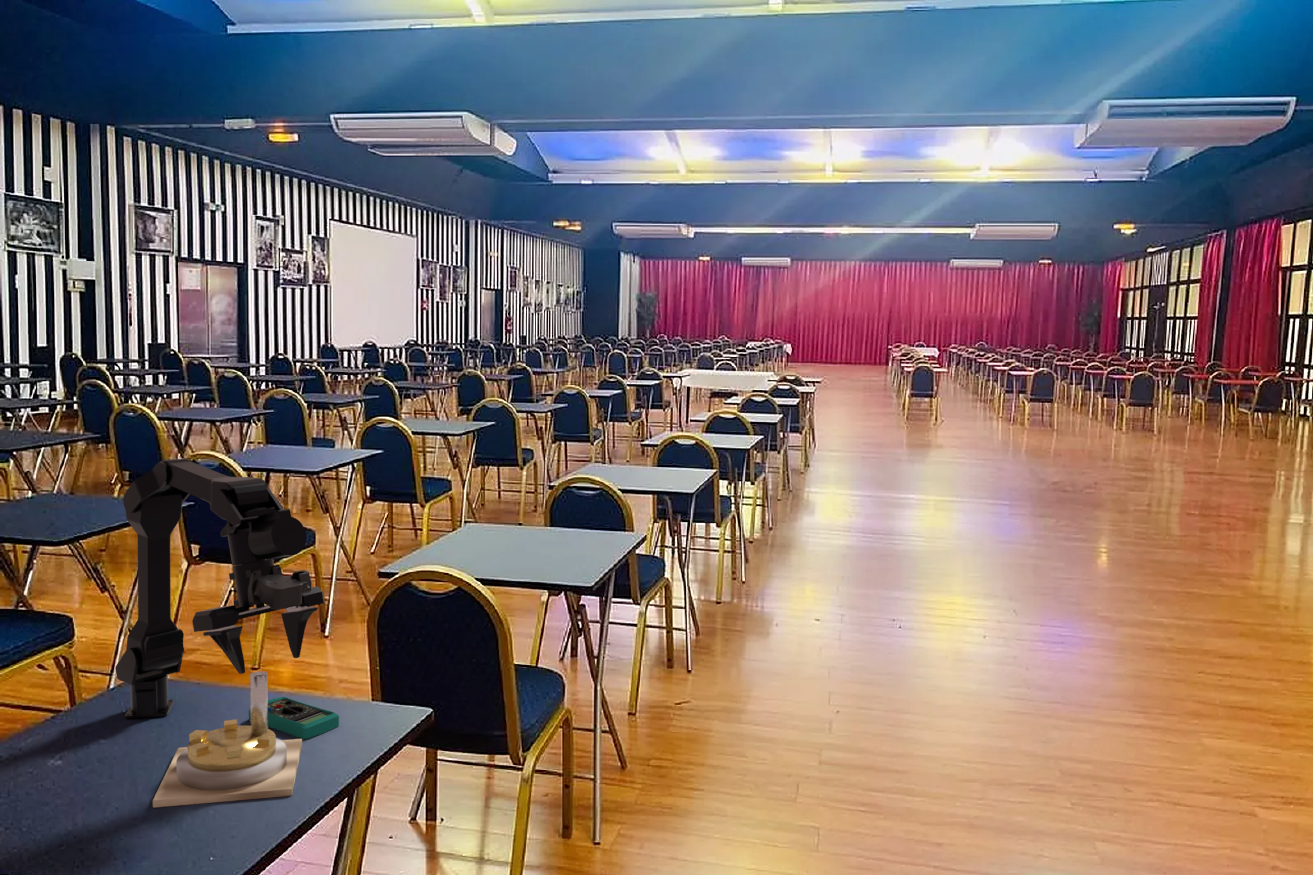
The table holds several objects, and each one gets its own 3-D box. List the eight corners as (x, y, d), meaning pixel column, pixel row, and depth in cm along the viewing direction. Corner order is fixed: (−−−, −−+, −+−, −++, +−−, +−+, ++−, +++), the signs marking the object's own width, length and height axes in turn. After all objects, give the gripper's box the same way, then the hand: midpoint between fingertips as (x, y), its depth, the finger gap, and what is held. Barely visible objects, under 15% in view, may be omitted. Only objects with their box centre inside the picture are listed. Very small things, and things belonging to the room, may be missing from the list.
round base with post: (195, 741, 155) (194, 670, 154) (280, 735, 158) (279, 665, 157) (179, 775, 143) (177, 699, 142) (271, 768, 146) (270, 694, 145)
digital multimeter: (282, 709, 178) (281, 693, 177) (341, 728, 170) (341, 711, 170) (245, 723, 171) (245, 706, 171) (305, 743, 164) (305, 725, 163)
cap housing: (178, 754, 157) (178, 735, 157) (302, 744, 162) (301, 726, 162) (152, 807, 140) (152, 786, 140) (292, 795, 145) (291, 775, 144)
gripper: (225, 568, 141) (243, 680, 140) (337, 546, 156) (354, 647, 156) (182, 575, 147) (200, 683, 147) (294, 554, 163) (310, 651, 162)
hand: (270, 665), depth 153 cm, fingers open, 9 cm apart
